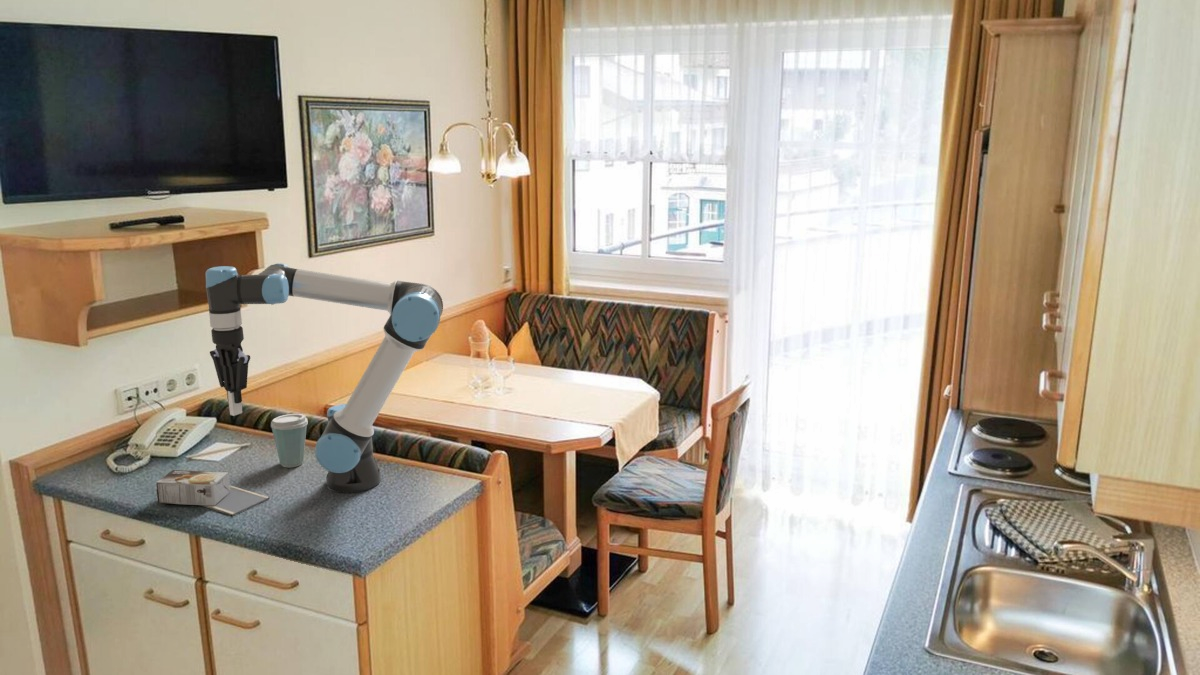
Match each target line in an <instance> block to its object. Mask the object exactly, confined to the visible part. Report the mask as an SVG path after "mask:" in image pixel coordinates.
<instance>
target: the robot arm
mask: <svg viewBox="0 0 1200 675" xmlns="http://www.w3.org/2000/svg"><path fill="white" fill-rule="evenodd" d="M205 289H206V290H205V291H206V295H207V296H206V297H207V304H208V312H209V313H208V316H209V325H210V327H211V328H212V329H211V341H212V343H213V344H214V345H215V349H214V350H210V351H209V355H210V356H211V359H212V362H213V364H214V369H215V372H216V376H217V379H218V383H219V386H220V388H224V389H225V391H226V397H227V401H228V407H229V408H228V410H229V415H230V416H233V417H235V416H237V415H241V414H242V413H243V406H242V405H243V404H242V402H243V397H242V396H243V395H242V390H245V389H247V387H248V377H249V376H248V372H249V363H250V361H251V356H250V354H245V353H244V352H243V347H242V342H243V341H244V340H245V337H244V329H243V326H242V324H243V318H242V313H241V309H242V308H241V305H271V306H272V305H277V304H278V305H279V304H285V303H286V302H287V301H288V298H289V297H295V298H302V299H308V300H316V301H322V302H328V303H335V304H342V305H347V306H353V307H354V306H355V307H360V308H361V307H362V308H367V309H372V310H373V309H374V310H379V311H386V312H387V313H389V314H390V315H389V317H388V318H387V320H386V322H385V324H384V326H383V328H382V329H383V332H384V337H383V339H382V341H381V343H380V345H379V347H378V349H377V350H376V352H375V353H374V355H373V357H372V358H371V360H370V362H369V364H368V365H367V367H366V369H365V371H364V372H363V375H362V376H361V378H360V380H359V381H358V383H357V385H356V386H355V388H354V390H353V392H352V393H351V395H350V397H349V399H348V401H347V402H346V403H345V404H344V403H343V404H336V405H333V406H331V407H329V408H328V409H327V413H326V418H327V426H326V427H325V429H324V431H323V433H322V434H321V436H320V437H319V439H317V441H316V442H315V443H316V444H315V450H314V456H315V458H316V461H317V462H318V464H319V466H321V468H323V469H325V470H326V471H328V472H327V474H326V478H325V480H326V481H325V482H326V487H327V488H328V489H329V490H331V491H333V492H336V493H346V494H347V493H357V492H363V491H367V490H370V489H372V488H374V487H376V486H377V485H379V484H380V483H381V481H382V478H381V477H382V474H381V473H382V472H381V470H380V468H379V466H378V463H377V460H376V458H375V455H374V449H373V436H374V434H375V430H374V426H373V424H374V423H375V421H376V420H377V417H378V416H379V414H380V412H381V410H382V409H383V407H384V406H385V404H386V402H387V400H388V398H389V397H390V395H391V393H392V392H393V390H394V388H395V386H396V385H397V383H398V381H399V379H400V378H401V376H402V375H403V373H404V371H405V369H406V368H407V365H408V364H409V362H411V359H412V357H413V355H414V354H415V353H416V352H418V351H422V350H424V348H425V347H426V345H427V343H428V342H429V340H430V338H431V337H432V336H433V334H435V332H436V331H437V329H438V327H439V325H440V320H441V317H442V314H443V309H444V302H443V299H442V297H441V295H440V294H441V293H439V292H438V290H437V289H435V288H434V287H433V286H431V285H428V284H424V283H417V282H410V281H404V280H403V281H402V280H394V281H393V282H391V283H389V282H385V281H378V280H371V279H365V278H360V277H359V278H358V277H352V276H346V275H339V274H332V273H325V272H321V271H320V272H318V271H313V270H306V269H299V268H293V267H290V266H289V265H287V264H286V263H283V262H282V263H281V262H280V263H279V262H278V263H274V264H271V265H268V266H267V267H266V268H265V269H264V270H262V271H261V272H260V273H258V274H239V273H238V270H237V268H236V267H234V266H232V265H231V266H228V265H226V266H225V265H223V266H222V265H221V266H213V267H211V268H208V269H207V270H206V271H205Z"/></svg>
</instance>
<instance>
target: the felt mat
mask: <svg viewBox="0 0 1200 675" xmlns="http://www.w3.org/2000/svg"><path fill="white" fill-rule="evenodd" d="M268 499H269V500H270V497H269V496H267V495H263V494H260V493H257V492H253V491H250V490H246V489H243V488H240V487H237V486H234V485H231V484H230V493H229V494H228V495H227V496H226V497H225V498H223V499H222V500H221V501H220V502H219V503H217V504H216V505H215V506H212V505H199V506H201V507H204V508H207V509H210V510H213V511H216V512H219V513H222V514H225V515H228V516H231V515H232V517H234V516H236V515H235V514H237V515H238V513H239V514H240V512H241V513H243V512H245V511H247V510H249V509H251V507H252V508H253V506H254V507H256V506H258V505H260V504H262V503H264V502H266V500H267V501H268ZM261 502H262V503H261ZM259 503H260V504H259ZM257 504H258V505H257ZM255 505H256V506H255ZM248 508H249V509H248ZM246 509H247V510H246ZM244 510H245V511H244ZM242 511H243V512H242ZM233 515H234V516H233Z"/></svg>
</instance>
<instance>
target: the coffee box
mask: <svg viewBox="0 0 1200 675" xmlns="http://www.w3.org/2000/svg"><path fill="white" fill-rule="evenodd" d="M230 485H231V482H230V472H229V471H228V472H226V471H205V470H204V471H202V470H200V471H199V470H181V469H179V470H176V469H173V470H171V471H170V472H169V473H167V474H166V475H164V476H162V477H161V478H160V479H159V480H157V481H156V496H157V497H156V498H157V504H164V505H166V504H170V505H171V504H172V505H174V504H175V505H190V506H191V505H192V506H194V505H195V506H200V505H212V506H215V505H216V504H217V503H219V502H220V501H221V500H222V499H223V498H225V497H226V496H227V495H228V494H229V493H230Z"/></svg>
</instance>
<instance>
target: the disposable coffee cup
mask: <svg viewBox="0 0 1200 675" xmlns="http://www.w3.org/2000/svg"><path fill="white" fill-rule="evenodd" d="M308 423H309V420H308V418H307V417H306V414H303V413H289V414H284V415H278V416H277V417H275V418H273V419H272V420H271V422H270V428H271V430H272V435H273V439H274V443H275V449H276V452H277V457H278V460H279V464H280V465H281V466H282V467H283V468H297V467H300V466H301V465H303V462H304V460H305V448H306V435H307V426H308Z"/></svg>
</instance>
